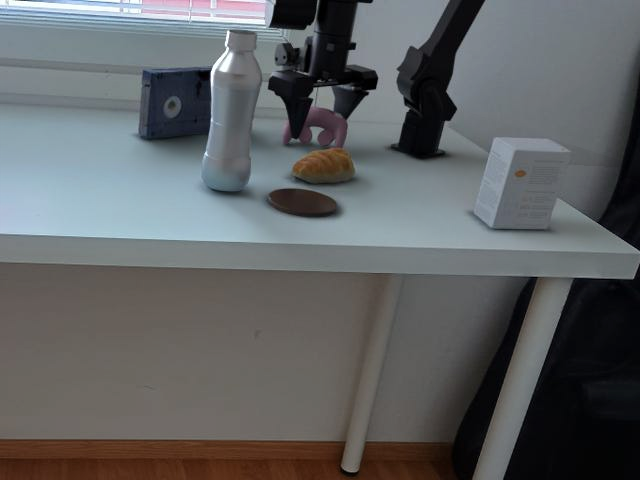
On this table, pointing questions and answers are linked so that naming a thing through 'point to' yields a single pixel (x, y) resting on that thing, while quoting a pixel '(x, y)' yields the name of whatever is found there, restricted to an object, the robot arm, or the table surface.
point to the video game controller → (324, 119)
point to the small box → (521, 183)
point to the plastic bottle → (232, 113)
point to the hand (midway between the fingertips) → (314, 136)
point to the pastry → (325, 166)
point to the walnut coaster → (302, 202)
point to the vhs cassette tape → (175, 102)
